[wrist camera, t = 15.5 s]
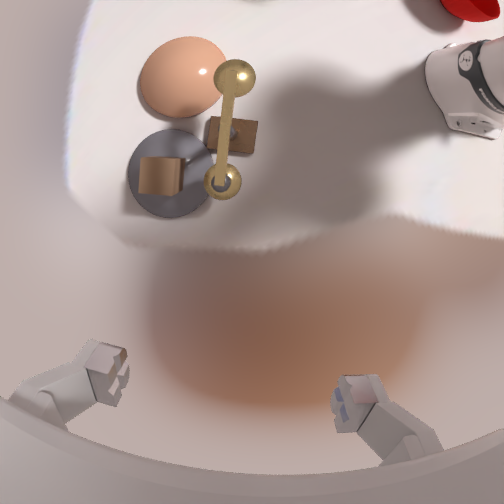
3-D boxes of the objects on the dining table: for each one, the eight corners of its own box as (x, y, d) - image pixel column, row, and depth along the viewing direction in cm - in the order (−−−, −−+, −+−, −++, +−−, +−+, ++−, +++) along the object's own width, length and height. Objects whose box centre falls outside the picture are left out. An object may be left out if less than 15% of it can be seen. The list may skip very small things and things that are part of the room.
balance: (264, 81, 38) (267, 54, 26) (247, 195, 44) (244, 214, 32) (218, 77, 38) (204, 48, 25) (202, 190, 44) (182, 206, 31)
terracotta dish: (234, 40, 36) (234, 38, 35) (221, 121, 40) (220, 120, 39) (151, 40, 35) (149, 37, 34) (137, 116, 40) (134, 115, 39)
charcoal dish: (219, 133, 41) (218, 132, 40) (209, 220, 46) (207, 222, 45) (135, 128, 41) (132, 128, 39) (129, 211, 45) (126, 212, 44)
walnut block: (185, 158, 41) (175, 159, 36) (182, 190, 43) (172, 196, 37) (155, 156, 41) (140, 157, 35) (152, 187, 43) (138, 193, 37)
